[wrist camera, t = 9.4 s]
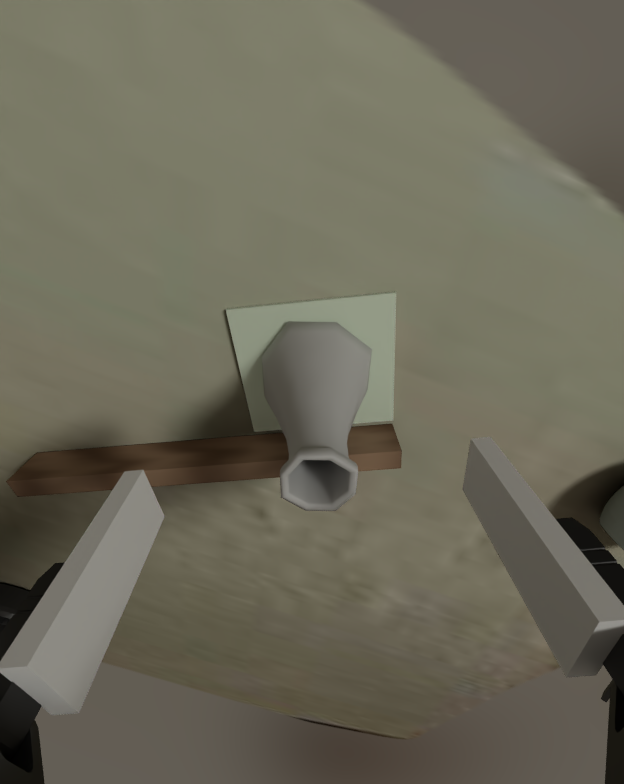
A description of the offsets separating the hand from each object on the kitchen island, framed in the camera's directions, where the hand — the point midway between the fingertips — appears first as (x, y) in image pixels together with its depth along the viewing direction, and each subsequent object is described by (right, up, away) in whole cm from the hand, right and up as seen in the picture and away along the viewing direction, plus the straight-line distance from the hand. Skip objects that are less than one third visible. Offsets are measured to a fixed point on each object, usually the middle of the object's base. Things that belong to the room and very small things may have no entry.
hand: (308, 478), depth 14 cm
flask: (0, +5, +8) cm, 10 cm away
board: (0, +5, +8) cm, 10 cm away
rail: (-7, -1, +12) cm, 14 cm away
